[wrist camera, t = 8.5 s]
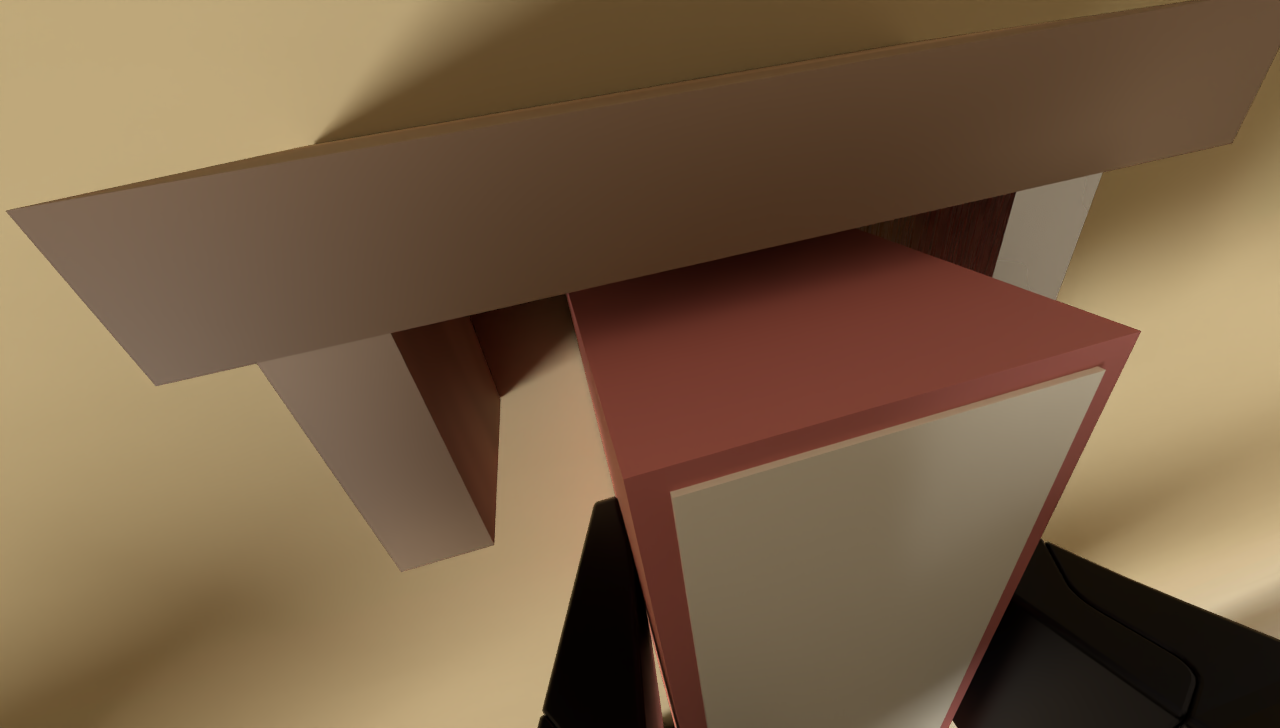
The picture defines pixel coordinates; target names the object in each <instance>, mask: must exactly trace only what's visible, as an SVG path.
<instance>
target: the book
mask: <svg viewBox="0 0 1280 728" xmlns="http://www.w3.org/2000/svg"><path fill="white" fill-rule="evenodd" d="M566 297H567V301H568V305H569V310H570V314H571V318H572V322H573V326H574V330H575V334H576V338H577V342H578V346H579V350H580V354H581V358H582V362H583V366H584V370H585V374H586V378H587V382H588V386H589V390H590V394H591V398H592V402H593V406H594V411H595V415H596V419H597V423H598V427H599V431H600V435H601V439H602V443H603V447H604V451H605V455H606V459H607V463H608V467H609V471H610V475H611V479H612V483H613V487H614V491H615V495H616V498H617V499H618V502H619V505H620V509H621V513H622V516H623V520H624V524H625V528H626V531H627V535H628V539H629V542H630V546H631V550H632V554H633V559H634V563H635V567H636V571H637V575H638V579H639V583H640V587H641V591H642V596H643V600H644V604H645V608H646V612H647V617H648V621H649V627H650V633H651V637H652V641H653V645H654V649H655V652H656V656H657V660H658V664H659V668H660V672H661V675H662V679H663V683H664V687H665V691H666V695H667V698H668V702H669V706H670V710H671V714H672V718H673V722H674V725H675V728H949V726H950V724H951V722H952V720H953V718H954V715H955V713H956V711H957V709H958V707H959V705H960V703H961V701H962V699H963V697H964V695H965V693H966V691H967V689H968V687H969V685H970V683H971V680H972V678H973V676H974V674H975V672H976V670H977V668H978V666H979V664H980V662H981V660H982V658H983V656H984V654H985V652H986V650H987V648H988V645H989V643H990V641H991V639H992V637H993V635H994V633H995V631H996V629H997V627H998V625H999V623H1000V621H1001V619H1002V617H1003V615H1004V613H1005V610H1006V608H1007V606H1008V604H1009V602H1010V600H1011V598H1012V596H1013V594H1014V592H1015V590H1016V588H1017V586H1018V584H1019V582H1020V580H1021V577H1022V575H1023V573H1024V571H1025V569H1026V567H1027V565H1028V563H1029V561H1030V559H1031V557H1032V555H1033V553H1034V551H1035V549H1036V547H1037V545H1038V542H1039V540H1040V538H1041V536H1042V534H1043V532H1044V530H1045V528H1046V526H1047V524H1048V522H1049V520H1050V518H1051V516H1052V514H1053V512H1054V510H1055V507H1056V505H1057V503H1058V501H1059V499H1060V497H1061V495H1062V493H1063V491H1064V489H1065V487H1066V485H1067V483H1068V481H1069V479H1070V477H1071V475H1072V472H1073V470H1074V468H1075V466H1076V464H1077V462H1078V460H1079V458H1080V456H1081V454H1082V452H1083V450H1084V448H1085V446H1086V444H1087V442H1088V440H1089V437H1090V435H1091V433H1092V431H1093V429H1094V427H1095V425H1096V423H1097V421H1098V419H1099V417H1100V415H1101V413H1102V411H1103V409H1104V407H1105V404H1106V402H1107V400H1108V398H1109V396H1110V394H1111V392H1112V390H1113V388H1114V386H1115V384H1116V382H1117V380H1118V378H1119V376H1120V374H1121V372H1122V369H1123V367H1124V365H1125V363H1126V361H1127V359H1128V357H1129V355H1130V353H1131V351H1132V349H1133V347H1134V345H1135V343H1136V341H1137V339H1138V337H1139V334H1140V332H1141V331H1139V330H1136V329H1134V328H1131V327H1128V326H1125V325H1123V324H1120V323H1117V322H1114V321H1111V320H1109V319H1106V318H1103V317H1100V316H1098V315H1095V314H1092V313H1089V312H1086V311H1084V310H1081V309H1078V308H1075V307H1073V306H1070V305H1067V304H1064V303H1061V302H1059V301H1056V300H1053V299H1050V298H1048V297H1045V296H1042V295H1039V294H1036V293H1034V292H1031V291H1028V290H1025V289H1023V288H1020V287H1017V286H1014V285H1012V284H1009V283H1006V282H1003V281H1000V280H998V279H995V278H992V277H989V276H987V275H984V274H981V273H978V272H975V271H973V270H970V269H967V268H964V267H962V266H959V265H956V264H953V263H950V262H948V261H945V260H942V259H939V258H937V257H934V256H931V255H928V254H925V253H923V252H920V251H917V250H914V249H912V248H909V247H906V246H903V245H900V244H898V243H895V242H892V241H889V240H887V239H884V238H881V237H878V236H875V235H873V234H870V233H867V232H864V231H862V230H859V229H856V228H854V229H850V230H845V231H841V232H836V233H832V234H827V235H823V236H819V237H814V238H810V239H805V240H801V241H796V242H792V243H788V244H783V245H779V246H774V247H770V248H765V249H761V250H757V251H752V252H748V253H743V254H739V255H734V256H730V257H726V258H721V259H717V260H712V261H708V262H703V263H699V264H695V265H690V266H686V267H681V268H677V269H672V270H668V271H664V272H659V273H655V274H650V275H646V276H641V277H637V278H633V279H628V280H624V281H619V282H615V283H610V284H606V285H602V286H597V287H593V288H588V289H584V290H579V291H575V292H571V293H566Z"/></svg>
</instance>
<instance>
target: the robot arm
mask: <svg viewBox="0 0 1280 728" xmlns="http://www.w3.org/2000/svg"><path fill="white" fill-rule="evenodd" d="M542 711H543V713H544V715H543V716H541V717H540V720H539V724H538V728H664V727H663V719H662V712H661V705H660V698H659V691H658V683H657V676H656V669H655V662H654V655H653V647H652V640H651V633H650V627H649V621H648V617H647V612H646V608H645V604H644V600H643V596H642V591H641V587H640V583H639V579H638V575H637V571H636V567H635V563H634V559H633V554H632V550H631V546H630V542H629V539H628V535H627V531H626V528H625V524H624V520H623V516H622V513H621V509H620V505H619V502H618V499H617V498H616V497H611V498H608V499H604V500H601V501H598V502H596V503H595V505H594V507H593V511H592V515H591V519H590V523H589V527H588V531H587V535H586V539H585V543H584V547H583V551H582V554H581V558H580V562H579V566H578V570H577V574H576V578H575V582H574V586H573V590H572V594H571V598H570V602H569V606H568V610H567V614H566V618H565V622H564V626H563V630H562V634H561V638H560V642H559V646H558V650H557V654H556V658H555V662H554V666H553V670H552V674H551V678H550V682H549V686H548V690H547V694H546V698H545V701H544V705H543V710H542ZM953 722H954V723H955V725H956V726H957V728H1280V640H1279V639H1277V638H1274V637H1272V636H1269V635H1267V634H1264V633H1262V632H1259V631H1257V630H1254V629H1252V628H1249V627H1247V626H1244V625H1242V624H1239V623H1237V622H1234V621H1232V620H1229V619H1227V618H1224V617H1222V616H1219V615H1217V614H1214V613H1212V612H1209V611H1207V610H1204V609H1202V608H1199V607H1197V606H1194V605H1192V604H1189V603H1187V602H1185V601H1182V600H1180V599H1177V598H1175V597H1172V596H1170V595H1168V594H1165V593H1163V592H1160V591H1158V590H1156V589H1153V588H1151V587H1148V586H1146V585H1144V584H1141V583H1139V582H1136V581H1134V580H1132V579H1129V578H1127V577H1125V576H1122V575H1120V574H1118V573H1116V572H1114V571H1111V570H1109V569H1107V568H1105V567H1102V566H1100V565H1098V564H1096V563H1094V562H1091V561H1089V560H1087V559H1085V558H1082V557H1080V556H1078V555H1076V554H1074V553H1072V552H1069V551H1067V550H1065V549H1063V548H1061V547H1059V546H1057V545H1054V544H1052V543H1050V542H1045V543H1044V541H1043V540H1042V539H1041V538H1040V540H1039V542H1038V545H1037V547H1036V549H1035V551H1034V553H1033V555H1032V557H1031V559H1030V561H1029V563H1028V565H1027V567H1026V569H1025V571H1024V573H1023V575H1022V577H1021V580H1020V582H1019V584H1018V586H1017V588H1016V590H1015V592H1014V594H1013V596H1012V598H1011V600H1010V602H1009V604H1008V606H1007V608H1006V610H1005V613H1004V615H1003V617H1002V619H1001V621H1000V623H999V625H998V627H997V629H996V631H995V633H994V635H993V637H992V639H991V641H990V643H989V645H988V648H987V650H986V652H985V654H984V656H983V658H982V660H981V662H980V664H979V666H978V668H977V670H976V672H975V674H974V676H973V678H972V680H971V683H970V685H969V687H968V689H967V691H966V693H965V695H964V697H963V699H962V701H961V703H960V705H959V707H958V709H957V711H956V713H955V715H954V718H953Z"/></svg>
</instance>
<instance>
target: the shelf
mask: <svg viewBox="0 0 1280 728" xmlns="http://www.w3.org/2000/svg"><path fill="white" fill-rule="evenodd" d="M1279 47H1280V0H1193V1H1187V2H1180V3H1173V4H1166V5H1160V6H1153V7H1146V8H1139V9H1133V10H1126V11H1119V12H1112V13H1106V14H1099V15H1092V16H1085V17H1079V18H1072V19H1065V20H1058V21H1052V22H1045V23H1038V24H1031V25H1025V26H1018V27H1011V28H1004V29H998V30H991V31H984V32H977V33H971V34H964V35H957V36H950V37H944V38H937V39H930V40H923V41H917V42H910V43H904V44H898V45H892V46H886V47H881V48H875V49H869V50H863V51H857V52H851V53H846V54H840V55H834V56H828V57H822V58H816V59H811V60H805V61H799V62H793V63H787V64H781V65H775V66H770V67H764V68H758V69H752V70H746V71H740V72H735V73H729V74H723V75H717V76H711V77H705V78H699V79H694V80H688V81H682V82H676V83H670V84H664V85H659V86H653V87H647V88H641V89H635V90H629V91H623V92H618V93H612V94H606V95H600V96H594V97H588V98H583V99H577V100H571V101H565V102H559V103H553V104H547V105H542V106H536V107H530V108H524V109H518V110H512V111H507V112H501V113H495V114H489V115H483V116H477V117H471V118H466V119H460V120H454V121H448V122H442V123H436V124H431V125H425V126H419V127H413V128H407V129H401V130H396V131H390V132H384V133H378V134H372V135H366V136H360V137H355V138H349V139H343V140H337V141H331V142H325V143H320V144H314V145H308V146H304V147H299V148H294V149H290V150H285V151H280V152H276V153H271V154H266V155H262V156H257V157H253V158H248V159H243V160H239V161H234V162H229V163H225V164H220V165H215V166H211V167H206V168H202V169H197V170H192V171H188V172H183V173H178V174H174V175H169V176H164V177H160V178H155V179H151V180H146V181H141V182H137V183H132V184H127V185H123V186H118V187H113V188H109V189H104V190H100V191H95V192H90V193H86V194H81V195H76V196H72V197H67V198H62V199H58V200H53V201H49V202H44V203H39V204H35V205H30V206H25V207H21V208H16V209H11V210H7V211H6V212H7V213H8V214H9V215H10V217H11V218H12V219H13V220H14V221H15V222H16V224H17V225H18V226H19V227H20V228H21V229H22V231H23V232H24V233H25V234H26V235H27V236H28V238H29V239H30V240H31V241H32V242H33V243H34V245H35V246H36V247H37V248H38V249H39V250H40V252H41V253H42V254H43V255H44V256H45V257H46V259H47V260H48V261H49V262H50V263H51V264H52V266H53V267H54V268H55V269H56V270H57V271H58V273H59V274H60V275H61V276H62V277H63V278H64V280H65V281H66V282H67V283H68V284H69V285H70V287H71V288H72V289H73V290H74V291H75V292H76V294H77V295H78V296H79V297H80V298H81V299H82V301H83V302H84V303H85V304H86V305H87V306H88V308H89V309H90V310H91V311H92V312H93V313H94V315H95V316H96V317H97V318H98V319H99V320H100V322H101V323H102V324H103V325H104V326H105V327H106V329H107V330H108V331H109V332H110V333H111V334H112V336H113V337H114V338H115V339H116V340H117V341H118V343H119V344H120V345H121V346H122V347H123V348H124V350H125V351H126V352H127V353H128V354H129V355H130V357H131V358H132V359H133V360H134V361H135V362H136V364H137V365H138V366H139V367H140V368H141V369H142V371H143V372H144V373H145V374H146V375H147V376H148V378H149V379H150V380H151V381H152V382H153V383H154V385H155V386H159V385H163V384H168V383H172V382H177V381H181V380H185V379H190V378H194V377H199V376H203V375H207V374H212V373H216V372H221V371H225V370H230V369H234V368H238V367H243V366H247V365H252V364H256V363H257V365H258V366H259V367H260V369H261V370H262V372H263V373H264V375H265V376H266V378H267V379H268V380H269V382H270V383H271V385H272V386H273V388H274V389H275V391H276V392H277V393H278V395H279V396H280V398H281V399H282V401H283V402H284V404H285V405H286V406H287V408H288V409H289V411H290V412H291V414H292V415H293V417H294V418H295V419H296V421H297V422H298V424H299V425H300V427H301V428H302V430H303V431H304V432H305V434H306V435H307V437H308V438H309V440H310V441H311V443H312V444H313V445H314V447H315V448H316V450H317V451H318V453H319V454H320V456H321V457H322V458H323V460H324V461H325V463H326V464H327V466H328V467H329V469H330V470H331V471H332V473H333V474H334V476H335V477H336V479H337V480H338V481H339V483H340V484H341V486H342V487H343V489H344V490H345V492H346V493H347V494H348V496H349V497H350V499H351V500H352V502H353V503H354V505H355V506H356V507H357V509H358V510H359V512H360V513H361V515H362V516H363V518H364V519H365V520H366V522H367V523H368V525H369V526H370V528H371V529H372V531H373V532H374V533H375V535H376V536H377V538H378V539H379V541H380V542H381V544H382V545H383V546H384V548H385V549H386V551H387V552H388V554H389V555H390V557H391V558H392V559H393V561H394V562H395V564H396V565H397V567H398V568H399V570H400V571H401V572H403V571H407V570H410V569H413V568H417V567H420V566H424V565H427V564H431V563H434V562H437V561H441V560H444V559H448V558H451V557H455V556H458V555H461V554H465V553H468V552H472V551H475V550H479V549H482V548H485V547H489V546H492V545H494V538H495V515H496V492H497V470H498V447H499V424H500V401H501V399H500V397H499V394H498V391H497V389H496V386H495V383H494V381H493V378H492V376H491V373H490V370H489V368H488V365H487V362H486V360H485V357H484V354H483V352H482V349H481V346H480V344H479V341H478V338H477V336H476V333H475V331H474V328H473V325H472V323H471V320H470V317H469V315H473V314H478V313H482V312H486V311H491V310H495V309H500V308H504V307H509V306H513V305H517V304H522V303H526V302H531V301H535V300H540V299H544V298H548V297H553V296H557V295H562V294H566V293H571V292H575V291H579V290H584V289H588V288H593V287H597V286H602V285H606V284H610V283H615V282H619V281H624V280H628V279H633V278H637V277H641V276H646V275H650V274H655V273H659V272H664V271H668V270H672V269H677V268H681V267H686V266H690V265H695V264H699V263H703V262H708V261H712V260H717V259H721V258H726V257H730V256H734V255H739V254H743V253H748V252H752V251H757V250H761V249H765V248H770V247H774V246H779V245H783V244H788V243H792V242H796V241H801V240H805V239H810V238H814V237H819V236H823V235H827V234H832V233H836V232H841V231H845V230H850V229H854V228H858V227H863V226H867V225H872V224H876V223H881V222H885V221H889V220H894V219H898V218H903V217H907V216H912V215H916V214H920V213H925V212H929V211H934V210H938V209H943V208H947V207H951V206H956V205H960V204H965V203H969V202H974V201H978V200H982V199H987V198H991V197H996V196H1000V195H1005V194H1009V193H1013V192H1018V191H1022V190H1027V189H1031V188H1036V187H1040V186H1044V185H1049V184H1053V183H1058V182H1062V181H1067V180H1071V179H1075V178H1080V177H1084V176H1089V175H1093V174H1098V173H1102V172H1106V171H1111V170H1115V169H1120V168H1124V167H1129V166H1133V165H1137V164H1142V163H1146V162H1151V161H1155V160H1160V159H1164V158H1168V157H1173V156H1177V155H1182V154H1186V153H1191V152H1195V151H1199V150H1204V149H1208V148H1213V147H1217V146H1222V145H1226V144H1230V143H1233V141H1234V139H1235V137H1236V135H1237V133H1238V131H1239V129H1240V127H1241V124H1242V122H1243V120H1244V118H1245V116H1246V114H1247V112H1248V110H1249V108H1250V106H1251V104H1252V102H1253V100H1254V98H1255V96H1256V94H1257V92H1258V90H1259V88H1260V86H1261V84H1262V82H1263V80H1264V78H1265V76H1266V74H1267V72H1268V70H1269V68H1270V66H1271V64H1272V62H1273V60H1274V58H1275V56H1276V54H1277V51H1278V49H1279Z"/></svg>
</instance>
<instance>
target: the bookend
mask: <svg viewBox="0 0 1280 728" xmlns="http://www.w3.org/2000/svg"><path fill="white" fill-rule="evenodd" d="M1102 173H1103V172H1102ZM1102 173H1098V174H1093V175H1089V176H1084V177H1080V178H1075V179H1071V180H1067V181H1062V182H1058V183H1053V184H1049V185H1044V186H1040V187H1036V188H1031V189H1027V190H1022V191H1018V192H1013V193H1009V194H1005V195H1000V196H996V197H991V198H987V199H982V200H978V201H974V202H969V203H965V204H960V205H956V206H951V207H947V208H943V209H938V210H934V211H929V212H925V213H920V214H916V215H912V216H907V217H903V218H898V219H894V220H889V221H885V222H881V223H876V224H872V225H867V226H863V227H858V228H856V229H859V230H862V231H864V232H867V233H870V234H873V235H875V236H878V237H881V238H884V239H887V240H889V241H892V242H895V243H898V244H900V245H903V246H906V247H909V248H912V249H914V250H917V251H920V252H923V253H925V254H928V255H931V256H934V257H937V258H939V259H942V260H945V261H948V262H950V263H953V264H956V265H959V266H962V267H964V268H967V269H970V270H973V271H975V272H978V273H981V274H984V275H987V276H989V277H992V278H995V279H998V280H1000V281H1003V282H1006V283H1009V284H1012V285H1014V286H1017V287H1020V288H1023V289H1025V290H1028V291H1031V292H1034V293H1036V294H1039V295H1042V296H1045V297H1048V298H1050V299H1053V300H1056V298H1057V295H1058V293H1059V290H1060V287H1061V285H1062V282H1063V279H1064V276H1065V274H1066V271H1067V268H1068V266H1069V263H1070V260H1071V257H1072V255H1073V252H1074V249H1075V247H1076V244H1077V241H1078V238H1079V236H1080V233H1081V230H1082V228H1083V225H1084V222H1085V219H1086V217H1087V214H1088V211H1089V209H1090V206H1091V203H1092V200H1093V198H1094V195H1095V192H1096V190H1097V187H1098V184H1099V181H1100V179H1101V176H1102Z"/></svg>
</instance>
